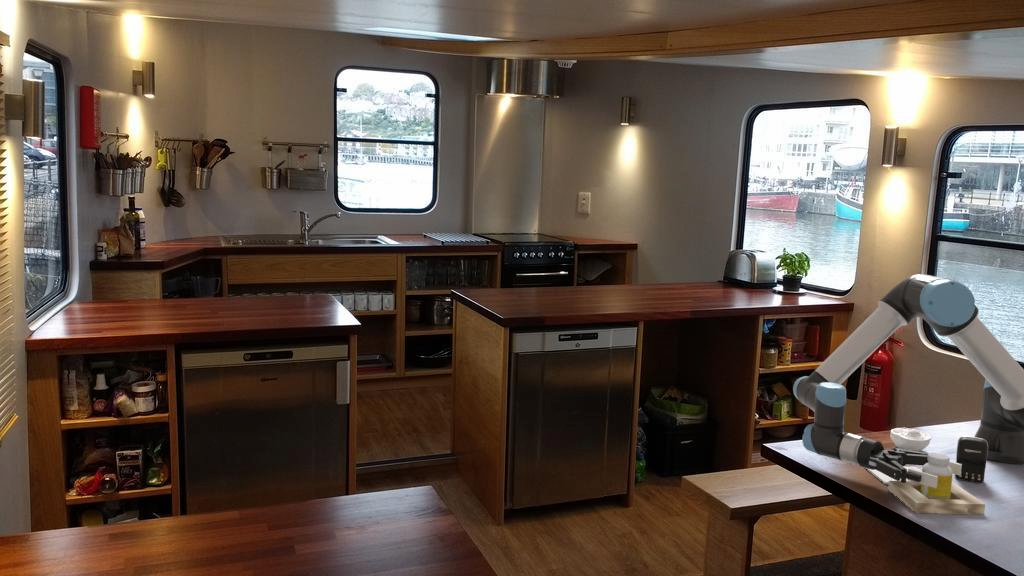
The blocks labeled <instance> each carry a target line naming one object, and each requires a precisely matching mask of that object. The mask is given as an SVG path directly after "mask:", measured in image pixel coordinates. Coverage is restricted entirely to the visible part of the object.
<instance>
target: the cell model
mask: <svg viewBox="0 0 1024 576" xmlns="http://www.w3.org/2000/svg"><path fill="white" fill-rule="evenodd" d="M889 437H890V439H891V440H892V442H893V443H894V444H895V446H896V448H899V449H903V450H911V451H918V452H922V451H923V450H924V449H926V448H927V447H928V446H929V445H930V442H931V440H932V439H933V438H932V437H931V435H930V434H929V433H926V432H924V431H921V430H918V429H913V428H907V427H896V428H892V429H891V430H890V436H889Z"/></svg>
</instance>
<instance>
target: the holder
mask: <svg viewBox="0 0 1024 576" xmlns="http://www.w3.org/2000/svg"><path fill="white" fill-rule="evenodd" d="M887 488H888V489H887V490H889V493H891V494H892V493H893V494H894V495H893V494H892V495H893V496H895V497H896V496H897V497H898V498H899V499H900V500H899V499H898V498H897V497H896V498H897V499H898V500H899V501H900V502H902V501H903V502H904V503H905V506H906V507H908V506H909V507H910V508H911V509H910V508H909V507H908V508H909V509H910V510H911V511H912V512H914V511H915V512H916V513H915V512H914V513H915V514H935V513H937V514H939V515H940V514H941V515H943V514H945V515H946V514H948V515H985V512H986V511H985V510H986V503H984V502H982V501H981V500H980V499H978V498H976V497H975V496H974V495H972V494H971V493H969V492H968V491H967V490H965V489H963V488H962V487H961V486H960V485H958V484H956V483H955V482H954V481H952V485H951V495H950V499H928V498H927V497H925V496H924V495H923V494H921V493H920V491H921V484H920V483H916V482H913V481H906V483H902V482H901V481H889V484H888V487H887ZM903 502H902V503H903ZM904 503H903V504H904Z"/></svg>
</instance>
